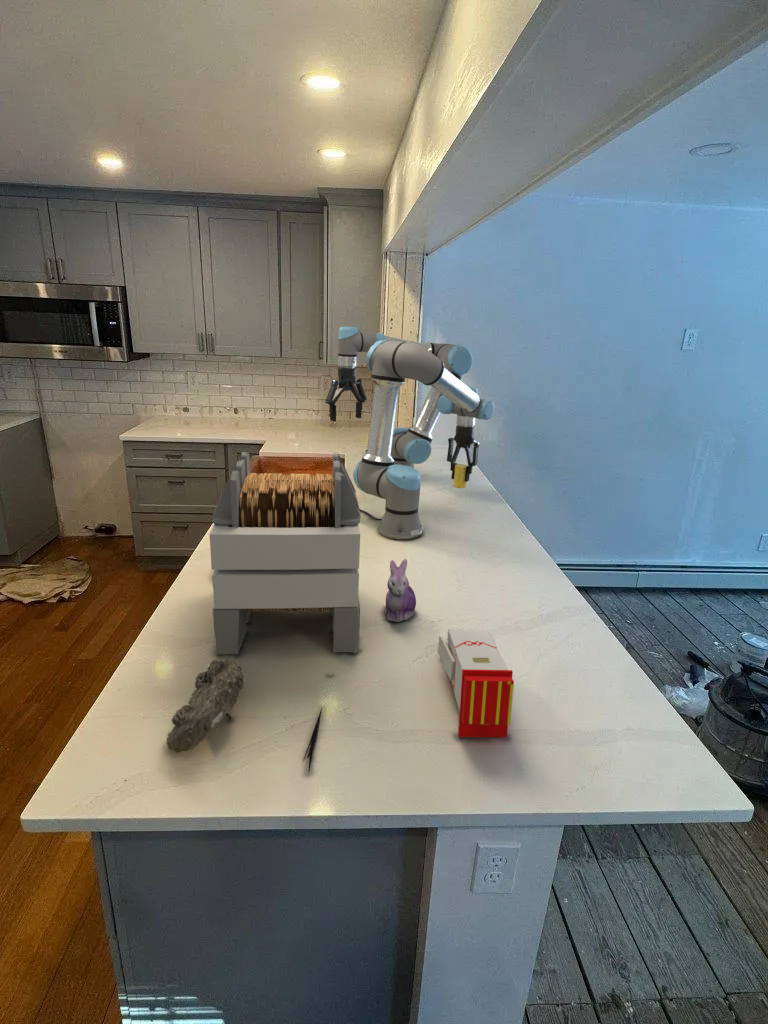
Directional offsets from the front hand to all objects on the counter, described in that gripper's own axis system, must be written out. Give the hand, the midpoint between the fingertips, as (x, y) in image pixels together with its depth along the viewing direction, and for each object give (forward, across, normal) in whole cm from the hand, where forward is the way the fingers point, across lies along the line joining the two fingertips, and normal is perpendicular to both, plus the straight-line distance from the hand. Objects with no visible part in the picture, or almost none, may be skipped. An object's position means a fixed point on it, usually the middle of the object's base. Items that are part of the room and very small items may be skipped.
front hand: (460, 479), depth 240 cm
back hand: (-23, +44, +22) cm, 54 cm away
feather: (+8, -35, +145) cm, 149 cm away
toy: (+8, -56, +120) cm, 133 cm away
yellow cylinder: (+3, 0, 0) cm, 3 cm away
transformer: (+8, -6, +118) cm, 119 cm away
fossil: (+9, -18, +155) cm, 157 cm away
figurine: (+8, -28, +101) cm, 105 cm away
